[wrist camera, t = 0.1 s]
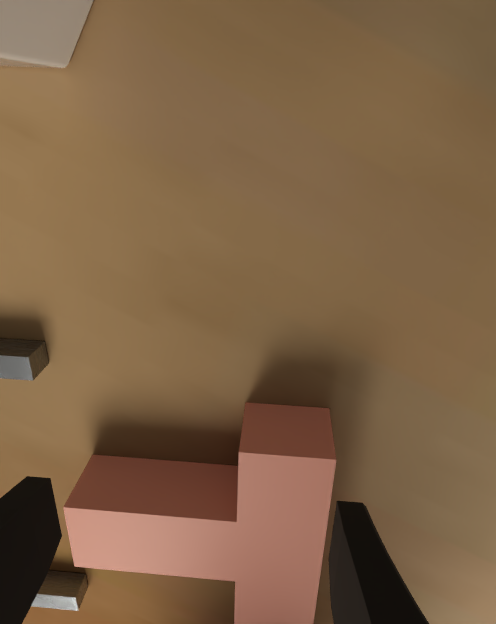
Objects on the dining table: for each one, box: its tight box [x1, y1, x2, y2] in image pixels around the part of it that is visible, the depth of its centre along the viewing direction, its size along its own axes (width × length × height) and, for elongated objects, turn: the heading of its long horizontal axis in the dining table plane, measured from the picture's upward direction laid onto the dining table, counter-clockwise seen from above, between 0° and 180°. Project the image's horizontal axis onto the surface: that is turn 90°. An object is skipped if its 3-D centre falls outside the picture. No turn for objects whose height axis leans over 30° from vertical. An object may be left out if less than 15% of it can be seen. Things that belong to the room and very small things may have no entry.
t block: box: [63, 402, 336, 624], centre depth 23 cm, size 12×12×4 cm
